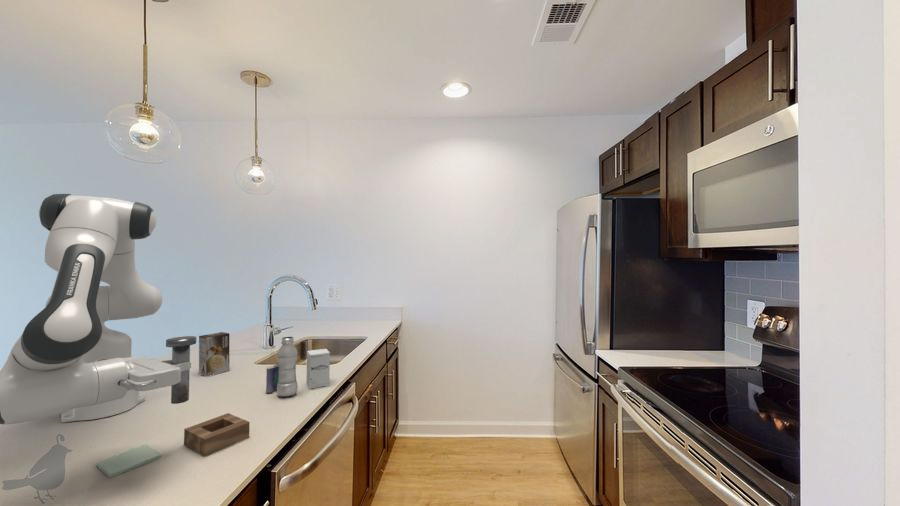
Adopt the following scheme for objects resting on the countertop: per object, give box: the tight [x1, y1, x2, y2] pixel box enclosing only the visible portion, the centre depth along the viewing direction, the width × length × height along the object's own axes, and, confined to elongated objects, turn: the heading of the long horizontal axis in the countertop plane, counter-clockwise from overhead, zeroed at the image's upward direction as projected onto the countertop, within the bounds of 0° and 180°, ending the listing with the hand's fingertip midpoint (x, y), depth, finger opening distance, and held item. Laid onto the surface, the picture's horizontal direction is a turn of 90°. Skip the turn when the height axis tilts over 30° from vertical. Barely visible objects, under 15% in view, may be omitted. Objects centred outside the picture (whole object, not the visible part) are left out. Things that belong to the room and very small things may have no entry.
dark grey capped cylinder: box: [165, 335, 197, 405], centre depth 85 cm, size 6×6×15 cm
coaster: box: [95, 443, 162, 478], centre depth 80 cm, size 9×9×1 cm
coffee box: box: [198, 331, 230, 377], centre depth 144 cm, size 9×6×16 cm
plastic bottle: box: [276, 336, 299, 398], centre depth 119 cm, size 6×7×20 cm
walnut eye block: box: [183, 412, 251, 457], centre depth 89 cm, size 10×10×4 cm
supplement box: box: [306, 348, 331, 390], centre depth 130 cm, size 7×7×13 cm
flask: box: [265, 359, 279, 394], centre depth 125 cm, size 9×3×11 cm, turn 151°
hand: (184, 363), depth 86 cm, fingers closed on dark grey capped cylinder, 3 cm apart
